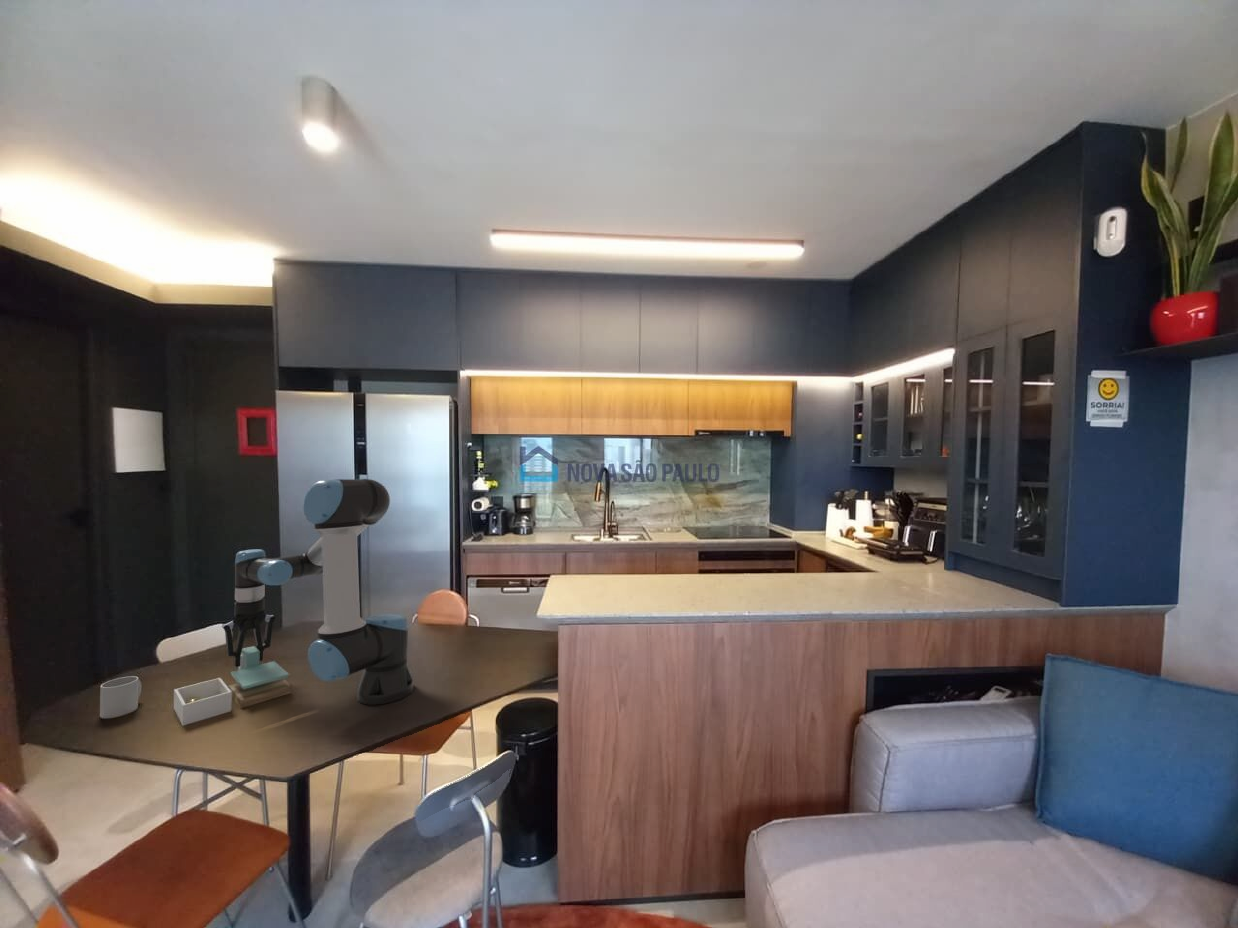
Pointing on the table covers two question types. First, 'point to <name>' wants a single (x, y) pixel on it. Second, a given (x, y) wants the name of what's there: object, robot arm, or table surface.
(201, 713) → the tub
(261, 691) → the wooden block
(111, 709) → the cup
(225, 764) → the table surface
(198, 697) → the gold round piece
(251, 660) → the lid
